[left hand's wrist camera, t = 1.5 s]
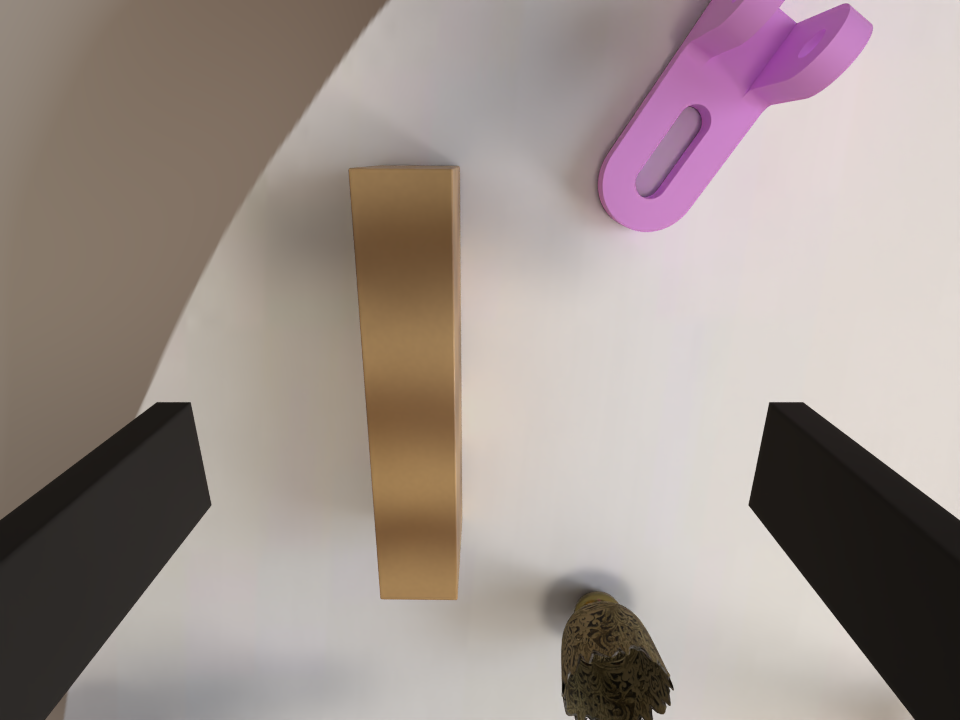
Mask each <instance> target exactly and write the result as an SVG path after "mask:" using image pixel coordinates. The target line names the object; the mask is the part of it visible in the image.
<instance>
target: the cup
mask: <svg viewBox="0 0 960 720" xmlns="http://www.w3.org/2000/svg"><path fill="white" fill-rule="evenodd" d="M561 668H562V693H563V695H562V697H563V701H564V707H565V712H566V714H567V715H568V716H575V720H587V718H586V717H588V718H589V719H590V720H643V719H644V720H653V717H652V709H653V710H654V711H655V712H657V713H659V714H664V713H665V710H666V704H668V705H669V706H670V705H671V702H670V695H669V693H670V689H669V687H670V688H671V689H672V690H673V691H674V688H673V685H672V682H671V680H670V674H669V673H668V671H667V669H666V667H665V665H664V663H663V661H662V659H661V657H660V655H659V653H658V651H657V649H656V647H655V645H654V643H653V641H652V639H651V637H650V635H649V633H648V632H647V630H646V628H645V627H644V625H643V624H642V622H641V621H640V620H639V618H638V617H637V616H636V615H635V614H634V613H633V612H631V611H630V610H629V609H627V608H626V607H624V606H622V605H620V604H618V602H617V601H616V600H615V599H614V598H613V597H612V596H611V595H609V594H607V593H605V592H599V591H595V592H590V593H587V594H585V595H584V596H582V597H581V598H580V599H579V600H578V602H577V604H576V606H575V610H574V614H573V615H572V616H571V617H570V619H569V620H568V622H567V624H566V626H565V629H564V632H563V637H562V647H561ZM665 702H666V703H665ZM642 718H643V719H642Z"/></svg>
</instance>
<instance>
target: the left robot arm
mask: <svg viewBox="0 0 960 720" xmlns="http://www.w3.org/2000/svg"><path fill="white" fill-rule="evenodd" d="M210 506H211V500H210V496H209V491H208V486H207V481H206V476H205V471H204V466H203V461H202V456H201V451H200V446H199V441H198V436H197V431H196V426H195V422H194V417H193V412H192V407H191V402H157V403H155V404H154V405H153V406H151V407H150V408H149V409H147V410H146V411H145V412H143V413H142V414H141V415H139V416H138V417H137V418H135V419H134V420H133V421H131V422H130V423H129V424H127V425H126V426H125V427H124V428H122V429H121V430H120V431H118V432H117V433H116V434H114V435H113V436H112V437H110V438H109V439H108V440H106V441H105V442H104V443H102V444H101V445H100V446H98V447H97V448H96V449H94V450H93V451H92V452H90V453H89V454H88V455H86V456H85V457H84V458H82V459H81V460H80V461H78V462H77V463H76V464H74V465H73V466H72V467H70V468H69V469H68V470H66V471H65V472H64V473H62V474H61V475H60V476H58V477H57V478H56V479H54V480H53V481H52V482H50V483H49V484H48V485H46V486H45V487H44V488H43V489H41V490H40V491H39V492H37V493H36V494H35V495H33V496H32V497H31V498H29V499H28V500H27V501H25V502H24V503H23V504H21V505H20V506H19V507H17V508H16V509H15V510H13V511H12V512H11V513H9V514H8V515H7V516H5V517H4V518H3V519H1V520H0V720H45V719H46V718H47V716H48V715H49V714H50V713H51V711H52V710H53V709H54V707H55V706H56V705H57V704H58V702H59V701H60V700H61V698H62V697H63V696H64V695H65V693H66V692H67V691H68V689H69V688H70V687H71V686H72V684H73V683H74V682H75V680H76V679H77V678H78V677H79V675H80V674H81V673H82V671H83V670H84V669H85V668H86V666H87V665H88V664H89V662H90V661H91V660H92V658H93V657H94V656H95V655H96V653H97V652H98V651H99V649H100V648H101V647H102V646H103V644H104V643H105V642H106V640H107V639H108V638H109V637H110V635H111V634H112V633H113V631H114V630H115V629H116V628H117V626H118V625H119V624H120V622H121V621H122V620H123V619H124V617H125V616H126V615H127V613H128V612H129V611H130V609H131V608H132V607H133V606H134V604H135V603H136V602H137V600H138V599H139V598H140V597H141V595H142V594H143V593H144V591H145V590H146V589H147V588H148V586H149V585H150V584H151V582H152V581H153V580H154V579H155V577H156V576H157V575H158V573H159V572H160V571H161V570H162V568H163V567H164V566H165V564H166V563H167V562H168V561H169V559H170V558H171V557H172V555H173V554H174V553H175V551H176V550H177V549H178V548H179V546H180V545H181V544H182V542H183V541H184V540H185V539H186V537H187V536H188V535H189V533H190V532H191V531H192V530H193V528H194V527H195V526H196V524H197V523H198V522H199V521H200V519H201V518H202V517H203V515H204V514H205V513H206V512H207V510H208V509H209V508H210ZM749 506H750V508H751V509H752V510H753V512H754V513H755V514H756V515H757V517H758V518H759V519H760V521H761V522H762V523H763V524H764V526H765V527H766V528H767V530H768V531H769V532H770V533H771V535H772V536H773V537H774V539H775V540H776V541H777V542H778V544H779V545H780V546H781V548H782V549H783V550H784V551H785V553H786V554H787V555H788V557H789V558H790V559H791V561H792V562H793V563H794V564H795V566H796V567H797V568H798V570H799V571H800V572H801V573H802V575H803V576H804V577H805V579H806V580H807V581H808V582H809V584H810V585H811V586H812V588H813V589H814V590H815V591H816V593H817V594H818V595H819V597H820V598H821V599H822V600H823V602H824V603H825V604H826V606H827V607H828V608H829V609H830V611H831V612H832V613H833V615H834V616H835V617H836V619H837V620H838V621H839V622H840V624H841V625H842V626H843V628H844V629H845V630H846V631H847V633H848V634H849V635H850V637H851V638H852V639H853V640H854V642H855V643H856V644H857V646H858V647H859V648H860V649H861V651H862V652H863V653H864V655H865V656H866V657H867V658H868V660H869V661H870V662H871V664H872V665H873V666H874V668H875V669H876V670H877V671H878V673H879V674H880V675H881V677H882V678H883V679H884V680H885V682H886V683H887V684H888V686H889V687H890V688H891V689H892V691H893V692H894V693H895V695H896V696H897V697H898V698H899V700H900V701H901V702H902V704H903V705H904V706H905V707H906V709H907V710H908V711H909V713H910V714H911V715H912V716H913V718H914V719H915V720H960V520H959V519H957V518H956V517H955V516H953V515H952V514H951V513H949V512H948V511H947V510H945V509H944V508H943V507H941V506H940V505H939V504H937V503H936V502H935V501H933V500H932V499H931V498H929V497H928V496H927V495H925V494H924V493H923V492H921V491H920V490H919V489H917V488H916V487H915V486H914V485H912V484H911V483H910V482H908V481H907V480H906V479H904V478H903V477H902V476H900V475H899V474H898V473H896V472H895V471H894V470H892V469H891V468H890V467H888V466H887V465H886V464H884V463H883V462H882V461H880V460H879V459H878V458H876V457H875V456H874V455H872V454H871V453H870V452H868V451H867V450H866V449H864V448H863V447H862V446H860V445H859V444H858V443H856V442H855V441H854V440H852V439H851V438H850V437H848V436H847V435H846V434H844V433H843V432H842V431H840V430H839V429H838V428H837V427H835V426H834V425H833V424H831V423H830V422H829V421H827V420H826V419H825V418H823V417H822V416H821V415H819V414H818V413H817V412H815V411H814V410H813V409H811V408H810V407H809V406H807V405H806V404H805V403H803V402H769V407H768V412H767V417H766V422H765V426H764V431H763V436H762V441H761V446H760V451H759V456H758V461H757V466H756V471H755V476H754V481H753V486H752V491H751V496H750V500H749Z"/></svg>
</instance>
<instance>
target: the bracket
mask: <svg viewBox="0 0 960 720" xmlns="http://www.w3.org/2000/svg"><path fill="white" fill-rule="evenodd" d="M784 1H785V0H711V2H710V3H709V5H708V6H707V8H706V9H705V11H704V12H703V14H702V15H701V17H700V18H699V19H698V21H697V22H696V24H695V25H694V27H693V28H692V30H691V31H690V33H689V34H688V36H687V37H686V39H685V40H684V42H683V43H682V45H681V46H680V48H679V49H678V51H677V52H676V54H675V55H674V57H673V58H672V59H671V61H670V62H669V64H668V65H667V67H666V68H665V70H664V71H663V73H662V74H661V76H660V77H659V79H658V80H657V82H656V83H655V85H654V86H653V88H652V89H651V91H650V92H649V94H648V95H647V97H646V98H645V99H644V101H643V102H642V104H641V105H640V107H639V108H638V110H637V111H636V113H635V114H634V116H633V117H632V119H631V120H630V122H629V123H628V125H627V126H626V128H625V129H624V131H623V132H622V134H621V135H620V136H619V138H618V139H617V141H616V142H615V144H614V145H613V147H612V148H611V150H610V151H609V153H608V154H607V156H606V158H605V159H604V161H603V163H602V166H601V169H600V173H599V178H598V192H599V197H600V200H601V203H602V205H603V207H604V209H605V211H606V212H607V213H608V214H609V216H610V217H611V218H612V219H614V220H615V221H616V222H618V223H619V224H621V225H623V226H625V227H627V228H630V229H632V230H636V231H641V232H652V231H658V230H661V229H664V228H667V227H669V226H671V225H672V224H674V223H675V222H677V221H678V220H679V219H681V218H682V217H683V216H684V215H685V214H686V213H687V212H688V210H689V209H690V208H691V206H692V205H693V204H694V202H695V201H696V200H697V198H698V197H699V196H700V194H701V193H702V192H703V190H704V189H705V188H706V186H707V185H708V184H709V182H710V181H711V180H712V178H713V177H714V176H715V174H716V173H717V172H718V170H719V169H720V168H721V166H722V165H723V164H724V162H725V161H726V160H727V158H728V157H729V156H730V154H731V153H732V152H733V150H734V149H735V148H736V146H737V145H738V144H739V142H740V141H741V140H742V138H743V137H744V136H745V134H746V133H747V132H748V130H749V129H750V128H751V126H752V125H753V124H754V122H755V121H756V120H757V118H758V117H759V116H760V114H761V113H762V112H763V111H764V110H765V109H766V108H767V107H769V106H770V105H773V104H779V103H784V102H790V101H795V100H801V99H806V98H809V97H812V96H814V95H815V94H817V93H819V92H820V91H822V90H823V89H825V88H826V87H827V86H829V85H830V84H831V83H832V82H833V81H835V80H836V79H837V78H838V77H839V76H840V75H841V74H842V73H843V72H844V71H845V70H846V69H847V68H848V67H849V66H850V65H851V64H852V63H853V61H854V60H855V59H856V58H857V57H858V55H859V54H860V53H861V51H862V50H863V49H864V47H865V45H866V44H867V42H868V40H869V38H870V36H871V34H872V31H873V26H872V24H871V23H870V22H869V21H868V20H866V19H865V18H864V17H863V16H862V15H861V14H860V13H858V12H857V11H856V10H855V9H854V8H853V7H852V6H850V5H849V4H846V3H845V4H842V5H839V6H837V7H835V8H832V9H830V10H827V11H825V12H823V13H820V14H818V15H816V16H813V17H811V18H809V19H806V20H804V21H802V22H799V23H796V22H795V21H793V20H792V19H791V18H790V17H789V16H787V15H786V14H785V13H784V12H783V11H782V10H780V9H779V7H780V6H781V4H782V3H783V2H784ZM688 106H691V107H694V108H695V109H697V110H698V111H699V113H700V115H701V118H702V125H701V129H700V131H699V132H698V134H697V135H696V137H695V138H694V139H693V141H692V142H691V144H690V145H689V146H688V148H687V149H686V151H685V152H684V153H683V155H682V156H681V158H680V159H679V160H678V162H677V163H676V164H675V166H674V167H673V169H672V170H671V171H670V173H669V174H668V176H667V177H666V178H665V180H664V181H663V182H662V184H661V185H660V187H659V188H658V189H657V191H656V192H655V193H654V194H652V195H651V196H648V197H642V196H640V195H639V194H638V192H637V190H636V186H635V181H636V178H637V175H638V174H639V172H640V171H641V169H642V168H643V166H644V165H645V164H646V162H647V161H648V159H649V158H650V156H651V155H652V154H653V152H654V151H655V149H656V148H657V146H658V145H659V144H660V142H661V141H662V139H663V138H664V136H665V135H666V134H667V132H668V131H669V129H670V128H671V126H672V125H673V124H674V122H675V121H676V119H677V118H678V117H679V115H680V114H681V112H682V111H683V110H684V109H685V108H686V107H688Z"/></svg>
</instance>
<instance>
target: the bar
mask: <svg viewBox="0 0 960 720" xmlns="http://www.w3.org/2000/svg"><path fill="white" fill-rule="evenodd" d="M349 182H350V195H351V209H352V222H353V236H354V249H355V263H356V276H357V289H358V303H359V316H360V330H361V343H362V357H363V370H364V383H365V397H366V410H367V424H368V437H369V451H370V464H371V478H372V491H373V504H374V518H375V531H376V545H377V558H378V572H379V585H380V598H381V599H413V600H457V598H458V581H459V564H460V547H461V531H462V425H461V273H460V167H459V166H388V165H380V166H369V167H358V168H350V169H349Z"/></svg>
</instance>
